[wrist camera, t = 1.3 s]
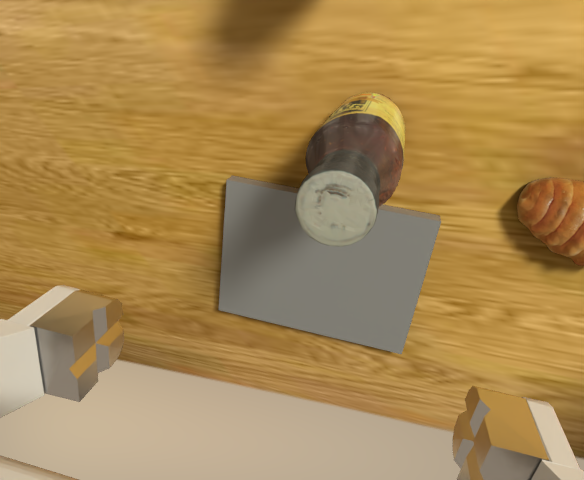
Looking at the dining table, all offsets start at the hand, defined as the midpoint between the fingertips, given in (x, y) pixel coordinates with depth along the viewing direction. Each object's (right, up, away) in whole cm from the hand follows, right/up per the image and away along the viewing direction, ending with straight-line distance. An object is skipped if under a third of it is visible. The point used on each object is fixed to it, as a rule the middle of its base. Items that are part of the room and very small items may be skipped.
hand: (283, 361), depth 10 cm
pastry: (+25, +5, +28) cm, 37 cm away
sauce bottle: (+7, +13, +28) cm, 32 cm away
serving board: (+3, 0, +34) cm, 35 cm away
